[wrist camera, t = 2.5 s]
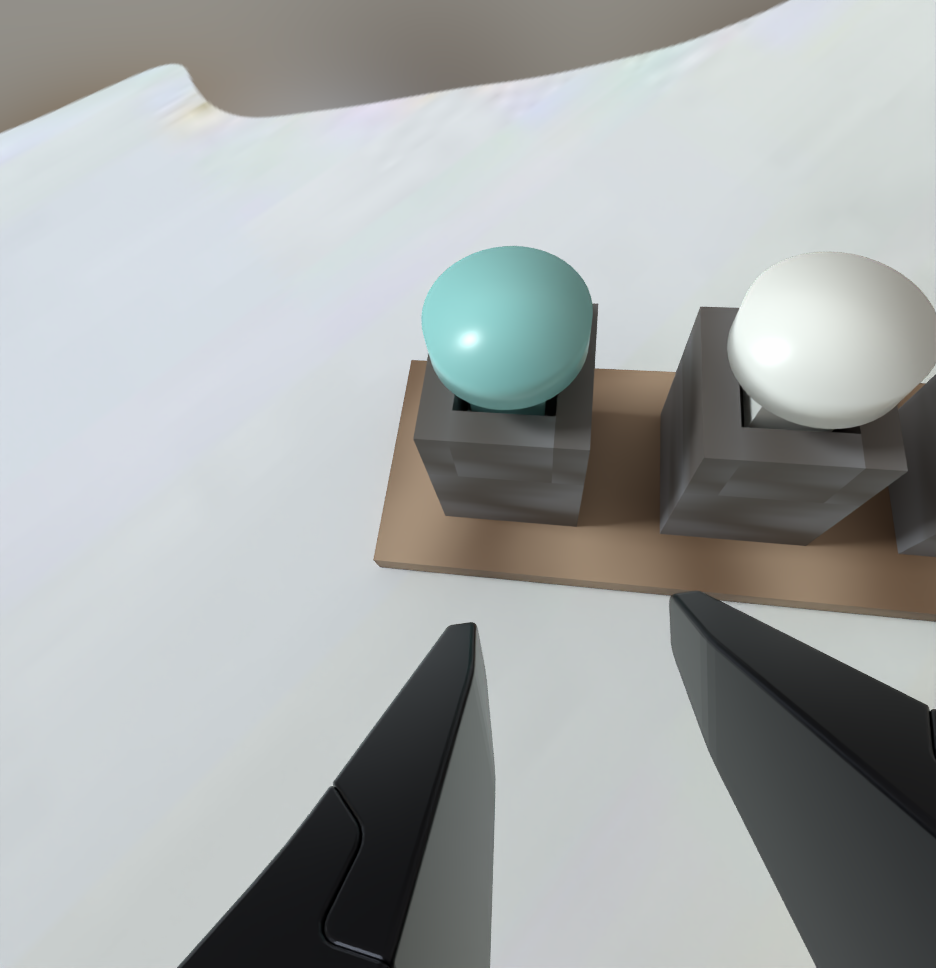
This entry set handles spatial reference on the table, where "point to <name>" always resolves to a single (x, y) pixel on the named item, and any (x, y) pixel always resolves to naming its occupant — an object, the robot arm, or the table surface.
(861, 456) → the button stand
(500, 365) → the teal button
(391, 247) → the table surface
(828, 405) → the white button
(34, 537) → the table surface
